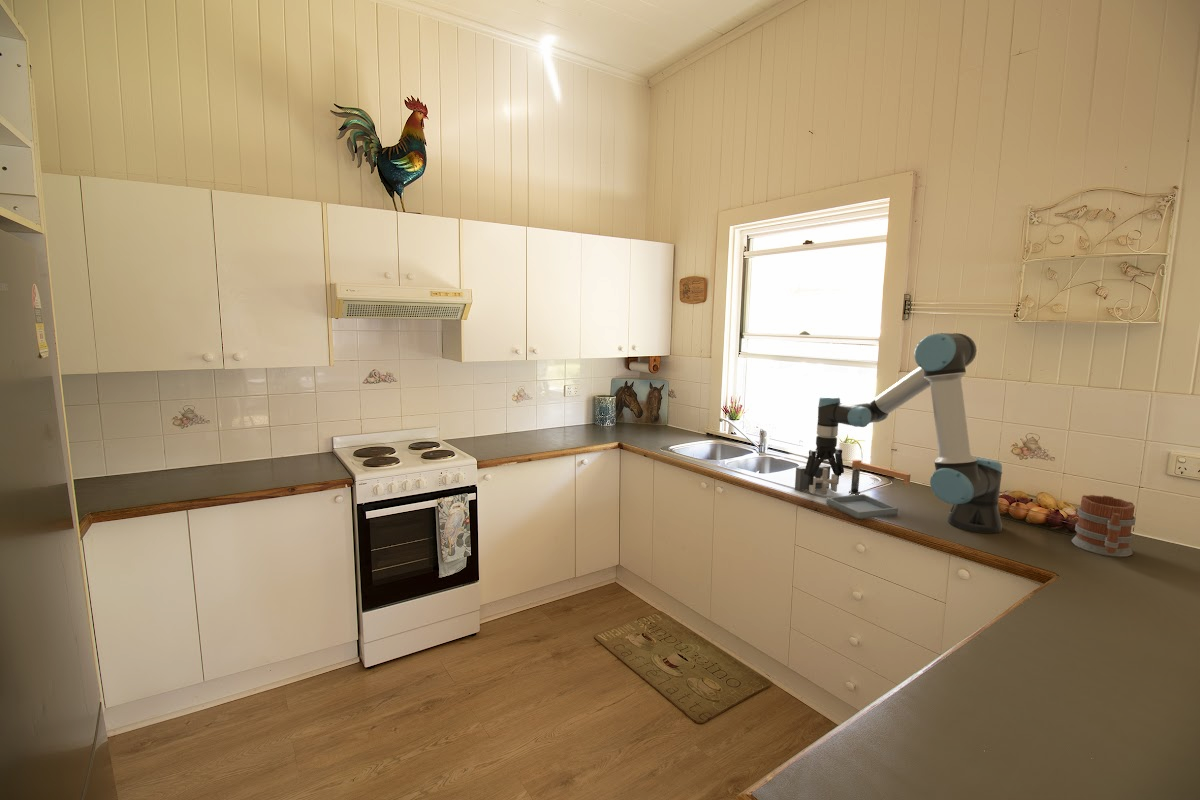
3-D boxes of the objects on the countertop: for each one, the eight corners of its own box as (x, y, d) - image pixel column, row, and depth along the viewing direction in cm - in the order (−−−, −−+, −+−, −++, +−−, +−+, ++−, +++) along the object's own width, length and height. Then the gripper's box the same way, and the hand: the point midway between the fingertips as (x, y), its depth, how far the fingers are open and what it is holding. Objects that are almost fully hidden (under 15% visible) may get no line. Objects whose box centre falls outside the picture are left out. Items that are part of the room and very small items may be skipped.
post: (862, 495, 223) (864, 470, 222) (853, 495, 222) (855, 470, 221) (854, 492, 227) (856, 467, 226) (846, 492, 226) (848, 468, 225)
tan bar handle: (855, 469, 225) (855, 459, 225) (910, 483, 206) (911, 472, 206) (849, 470, 224) (850, 460, 223) (905, 485, 205) (906, 473, 204)
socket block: (829, 488, 232) (830, 466, 231) (799, 490, 228) (800, 468, 227) (824, 485, 235) (825, 464, 234) (794, 488, 231) (796, 466, 230)
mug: (1125, 545, 176) (1132, 498, 174) (1143, 568, 160) (1151, 516, 157) (1067, 536, 183) (1073, 490, 181) (1078, 557, 167) (1085, 507, 165)
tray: (897, 515, 201) (897, 508, 201) (858, 519, 196) (858, 512, 196) (862, 500, 217) (863, 494, 216) (826, 504, 212) (826, 497, 211)
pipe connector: (839, 498, 219) (841, 473, 217) (812, 496, 221) (814, 471, 219) (834, 490, 229) (836, 466, 227) (808, 489, 231) (810, 464, 229)
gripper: (843, 432, 229) (839, 486, 232) (796, 435, 222) (792, 491, 225) (857, 436, 221) (852, 492, 225) (808, 439, 215) (804, 496, 218)
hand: (822, 491), depth 225 cm, fingers closed on pipe connector, 9 cm apart
